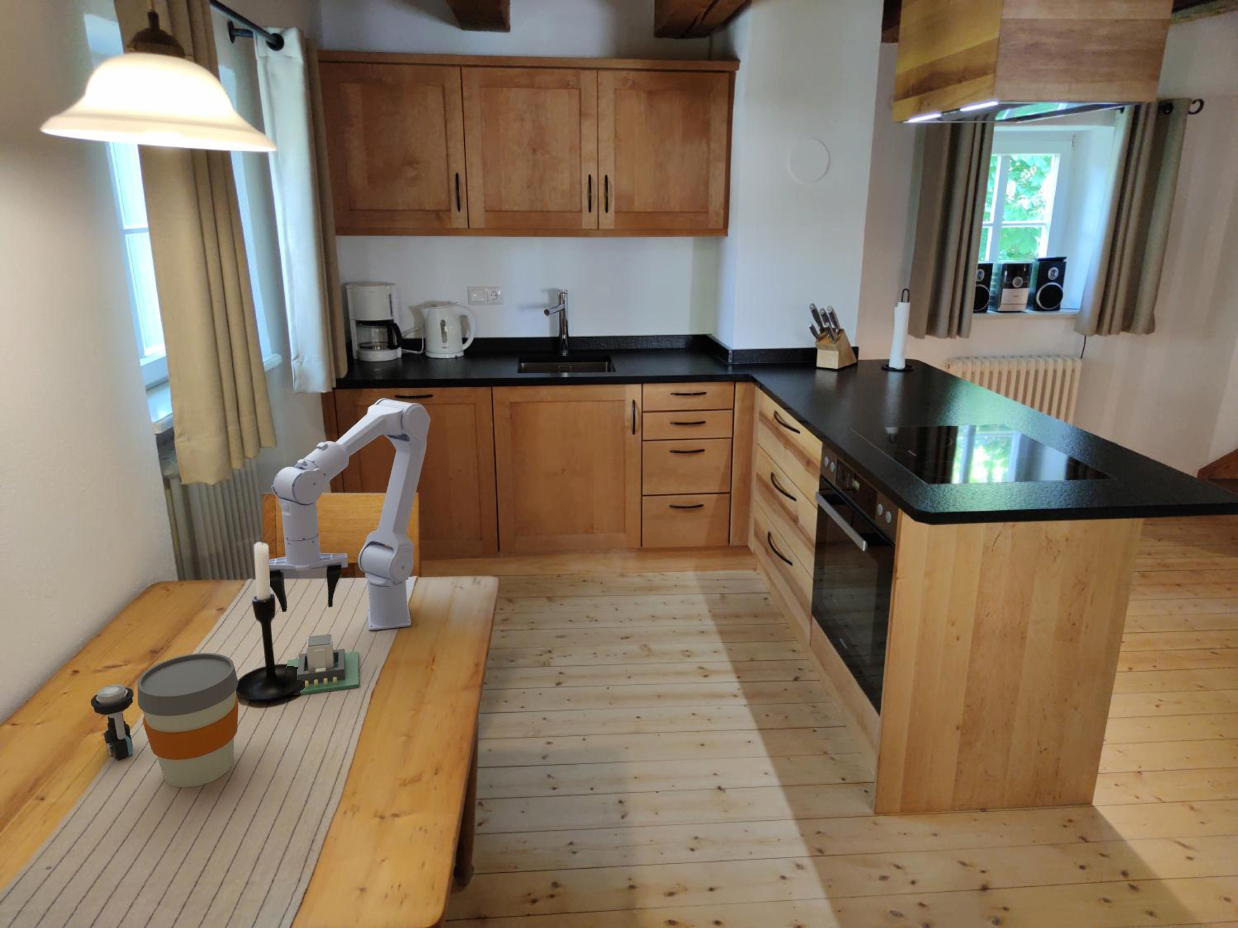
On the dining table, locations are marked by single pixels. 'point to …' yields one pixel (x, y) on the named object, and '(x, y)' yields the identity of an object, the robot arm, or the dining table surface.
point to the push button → (115, 718)
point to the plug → (320, 652)
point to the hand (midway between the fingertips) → (307, 607)
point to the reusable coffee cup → (191, 716)
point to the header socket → (328, 673)
